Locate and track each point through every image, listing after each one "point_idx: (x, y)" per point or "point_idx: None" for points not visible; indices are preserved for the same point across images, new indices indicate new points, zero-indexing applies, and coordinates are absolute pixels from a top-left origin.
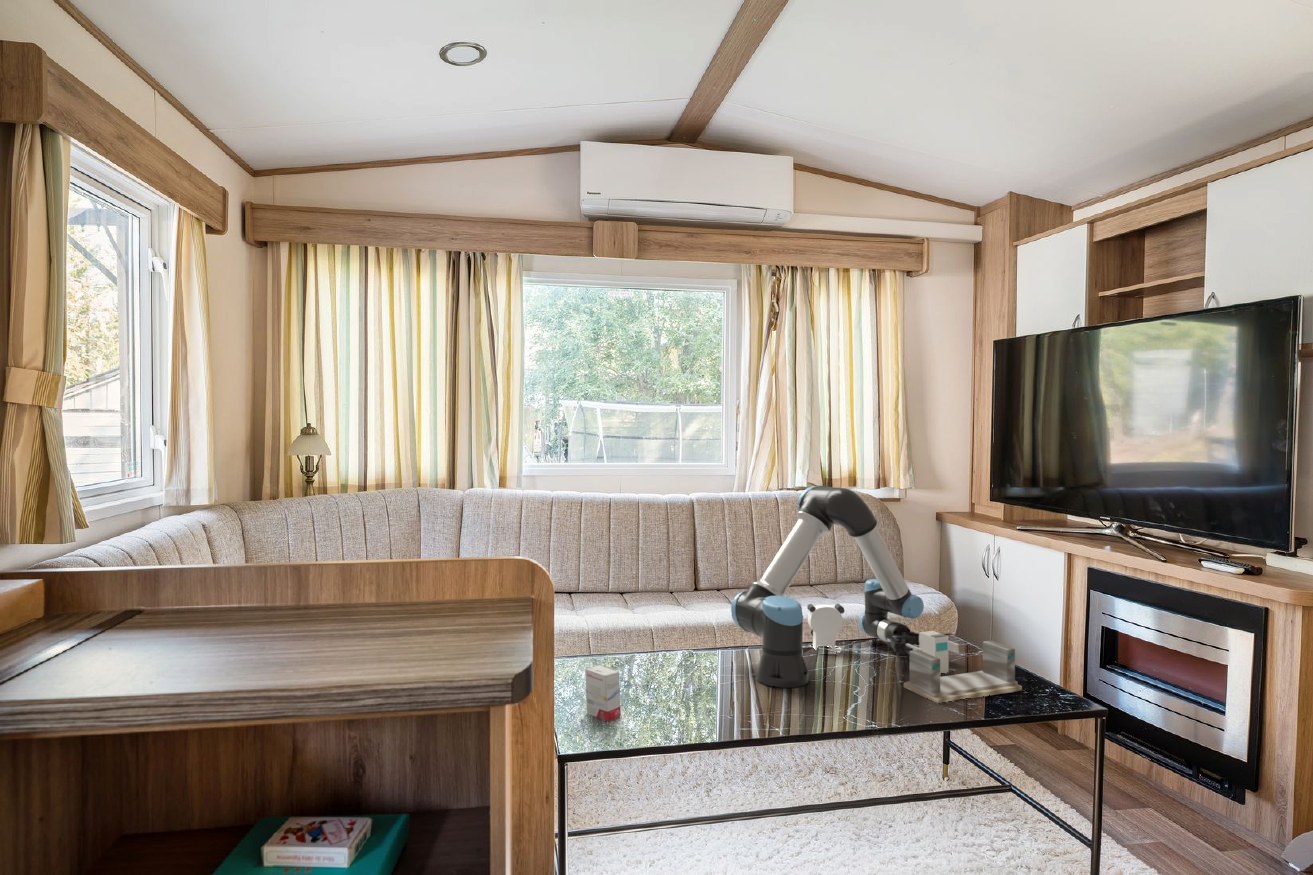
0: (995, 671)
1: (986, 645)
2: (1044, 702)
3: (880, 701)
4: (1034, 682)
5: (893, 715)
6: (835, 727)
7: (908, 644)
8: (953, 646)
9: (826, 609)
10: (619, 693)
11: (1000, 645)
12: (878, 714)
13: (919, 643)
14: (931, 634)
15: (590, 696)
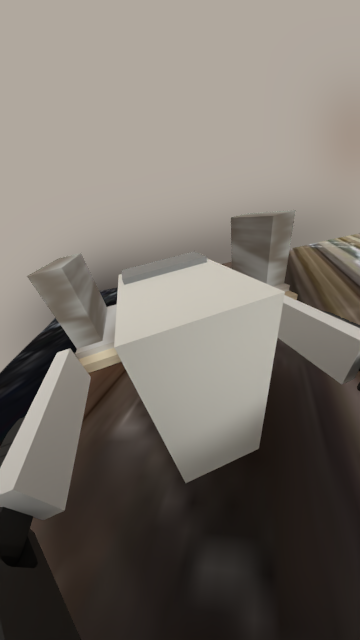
0: (100, 312)
1: (70, 272)
2: (109, 296)
3: (323, 267)
4: (38, 345)
5: (293, 254)
6: (349, 236)
7: (347, 325)
8: (72, 377)
9: None
10: None
11: (58, 262)
12: (312, 252)
13: (269, 369)
14: (189, 278)
15: None
